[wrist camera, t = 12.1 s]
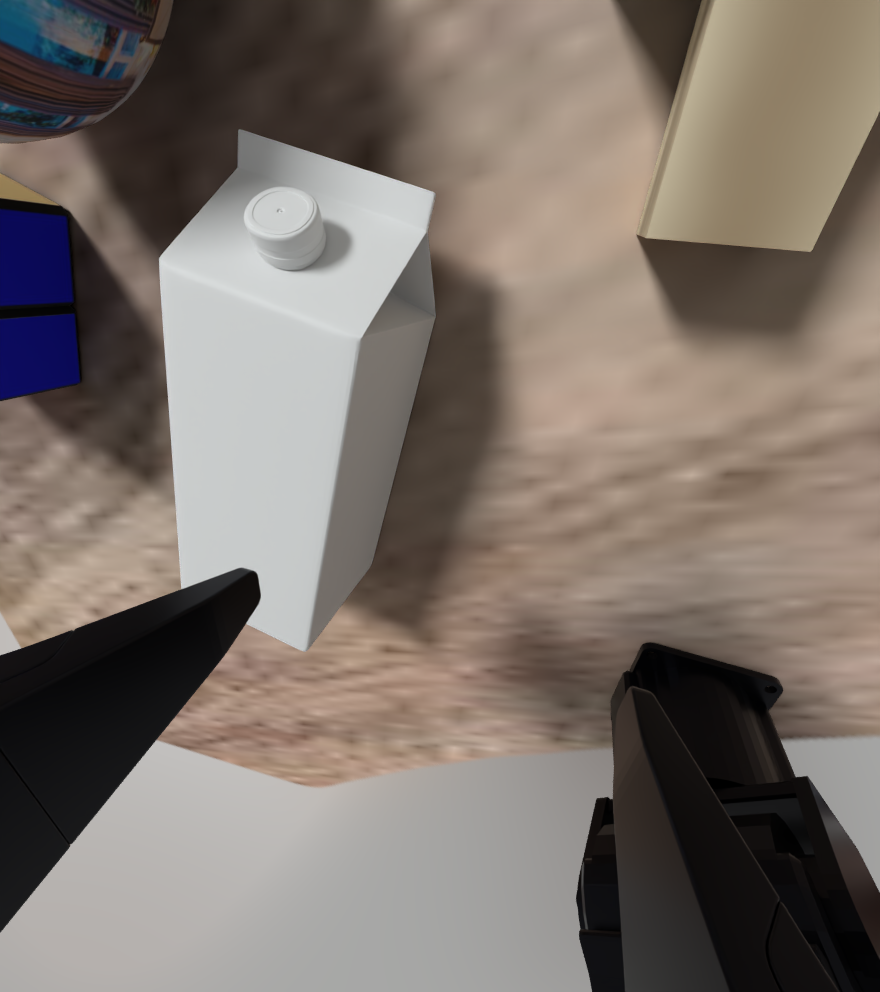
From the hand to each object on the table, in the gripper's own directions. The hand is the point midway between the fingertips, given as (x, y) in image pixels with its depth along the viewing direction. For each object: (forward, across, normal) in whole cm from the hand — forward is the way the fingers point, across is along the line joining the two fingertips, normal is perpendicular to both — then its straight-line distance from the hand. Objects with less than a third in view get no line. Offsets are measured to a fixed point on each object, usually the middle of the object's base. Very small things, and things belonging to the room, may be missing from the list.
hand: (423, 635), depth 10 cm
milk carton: (+8, +10, +9) cm, 16 cm away
